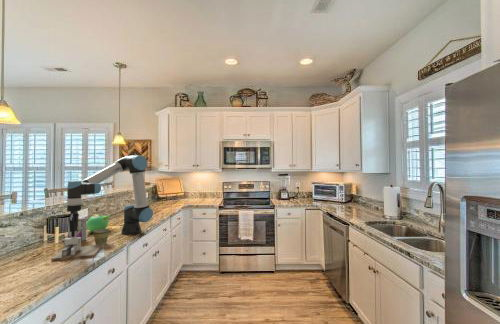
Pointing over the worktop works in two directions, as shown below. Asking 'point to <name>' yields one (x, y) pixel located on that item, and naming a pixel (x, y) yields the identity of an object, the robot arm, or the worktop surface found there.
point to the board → (77, 253)
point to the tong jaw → (74, 249)
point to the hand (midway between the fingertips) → (73, 241)
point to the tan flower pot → (101, 236)
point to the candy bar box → (79, 229)
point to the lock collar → (72, 242)
